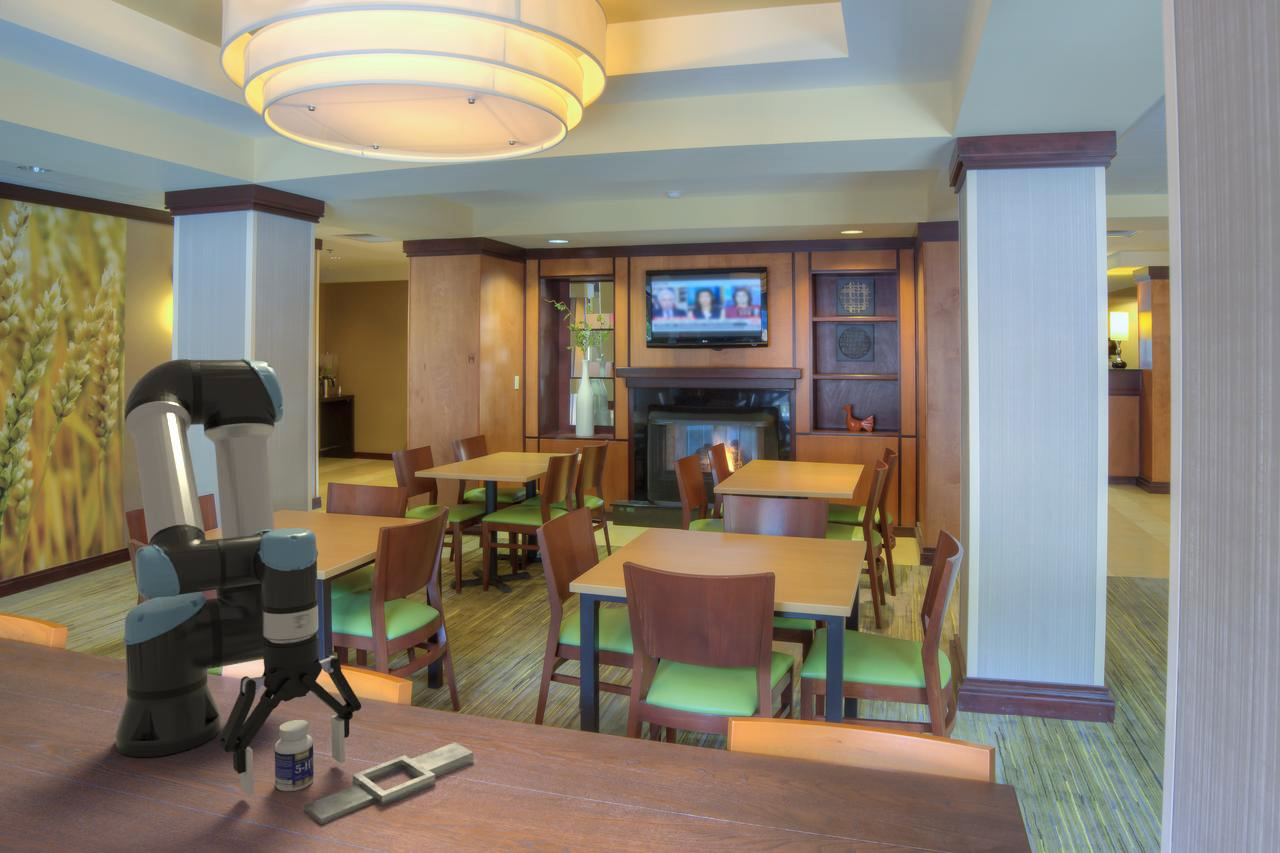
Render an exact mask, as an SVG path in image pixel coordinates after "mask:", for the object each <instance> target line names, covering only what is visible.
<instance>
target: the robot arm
mask: <svg viewBox="0 0 1280 853" xmlns="http://www.w3.org/2000/svg"><path fill="white" fill-rule="evenodd" d="M282 393H283V392H282V388H281V385H280V381H279V377H278V375H277V373H276V371H275V369H274V368H273V366H271V365H270V364H269V363H268V362H266V361H263V360H250V359H249V360H248V359H245V358H241V359H188V358H187V359H185V358H184V359H183V358H179V359H174V360H169V361H166V362H163V363H160V364H159V365H156V366H155V367H153V368H151V369H150V370H149V371H147V372H146V373H145V374H144V375H143V376H142V377H140V379H138V380H137V381H136V384H134V386H133V388H132V389H131V391H130V393H129V395H128V397H127V399H126V403H125V407H124V423H125V428H126V431H127V433H128V434H129V435H130V436H131V437H132V438H133V439H134V445H135V452H136V459H137V460H136V461H137V467H138V474H139V475H138V476H139V482H140V483H139V484H140V490H141V497H142V505H143V515H144V521H145V530H146V536H147V543H148V544H147V546H142V547H139V548H138V549H137V550H136V552H135V556H134V557H135V563H134V564H135V566H134V567H135V578H136V580H135V581H136V588H137V592H138V594H139V595H140V596H141V597H142V598H146V599H147V600H145V601H143V602H141V603H140V604H138V605H136V606H134V607H133V608H131V610H129V612H128V613H127V614H126V616H125V619H124V636H123V638H122V640H123V645H125V675H126V676H125V678H126V701H125V704H124V707H123V709H122V710H123V711H122V714H121V717H120V718H119V722H118V725H117V728H116V732H115V748H116V750H117V752H118V753H120V754H121V755H124V756H126V757H134V758H152V757H162V756H167V755H173V754H176V753H181V752H184V751H187V750H190V749H194V748H197V747H199V746H201V745H202V744H203V745H204V743H206V742H208V741H210V740H211V739H213V738H214V737H216V735H218V733H219V732H221V731H220V730H221V714H220V711H219V709H218V707H217V706H218V705H217V703H216V702H215V700H214V697H213V695H212V692H211V689H210V688H209V684H208V670H211V669H215V668H223V667H227V666H231V665H232V666H233V665H238V664H243V663H249V662H255V661H259V660H263V667H264V671H263V673H262V675H261V676H258V677H249V676H242V678H241V680H240V688H239V694H238V696H237V698H236V701H235V703H234V705H233V707H232V709H231V711H230V714H229V717H228V718H227V721H226V723H225V726H224V728H223V730H222V733H221V735H220V737H219V740H218V741H217V745H218V746H219V747H220V748H221V750H223V751H224V752H226V753H229V752H232V760H233V761H232V762H233V764H232V765H233V766H232V767H233V770H234V771H235V773H237V774H238V775H240V790H241V791H242V792H243V793H244V794H245V795H246V796H248V797H250V796H253V795H255V791H254V788H255V787H254V762H253V761H254V754H253V752H254V751H253V749H252V748H251V747H250V744H251V743H252V741H253V739H254V738H255V737H256V736H257V733H259V731H260V729H261V728H262V726H263V725H264V724H265V722H266V721H267V719H268V717H269V716H270V714H271V713H272V712H273V711H274V710H275V709H276V708H277V707H278V706H279V705H280V703H281V702H282V701H283V702H285V703H286V702H289V701H292V700H293V699H295V698H303V697H306V696H307V694H308V693H309V692H311V693H312V694H313V695H315V696H316V697H317V698H318V699H320V700H321V702H323V703H324V704H326V706H327V707H329V708H330V709H331V710H332V711H334V713H335V715H331V716H330V719H331V722H330V723H331V724H330V725H331V728H330V729H331V758H333V759H334V760H336V762H339V763H340V764H342V763H344V762H346V753H345V752H346V751H345V749H346V748H345V746H346V745H345V744H346V743H345V739H346V738H349V736H350V720H352V719H353V717H354V712H359V711H360V710H361V709H362V704H361V702H360V700H359V699H358V697H357V696H356V694H355V692H354V690H353V688H352V687H351V685H350V683H349V682H348V680H347V678H346V676H345V675H344V673H343V671H342V666H341V660H340V658H338V657H336V656H334V655H333V654H328V655H326V656H325V658H324V659H322V660H320V659H319V656H320V644H319V642H320V638H319V637H320V636H319V634H318V633H317V631H319V604H318V598H319V597H318V556H319V551H318V549H317V541H316V540H317V537H316V534H315V532H313V530H311V529H308V528H302V527H287V528H286V527H285V528H278V529H276V528H275V519H274V506H273V496H272V495H273V494H272V484H271V473H270V461H269V452H268V439H269V437H270V436H271V435H272V434H273V433H274V432H275V430H276V428H275V424H276V423H278V422H281V420H282V419H283V416H284V407H283V403H284V400H283V394H282ZM191 425H193V426H194V425H197V426H199V425H203V434H204V437H206V438H207V439H209V440H210V441H211V442H212V443H213V445H214V450H215V453H214V454H215V466H216V475H217V478H216V479H217V488H218V489H217V490H218V501H219V502H218V504H219V512H220V513H219V514H220V515H219V517H220V528H221V538H216V539H215V538H214V539H206V531H205V527H204V522H203V521H204V520H203V514H202V510H201V505H200V498H199V494H198V489H197V488H198V487H197V483H196V478H195V472H194V471H195V470H194V466H193V461H192V455H191V451H190V444H189V439H188V433H187V432H188V431H189V429H190V428H191ZM215 590H216V597H214V598H207V597H206V596H205V594H204V593H203V592H207V591H215ZM322 671H324V672H325V673H327V674H328V676H329V677H330V679H331V681H332V682H333V685H334V686H335V687H336V689H337V691H338V692H339V694H340V696H341V698H342V699H343V701H344V703H345V704H344V705H343V704H342V703H341V702H340V701H338V700H337V699H336V698H335V697H334V696H333V695H332V694H330V693H329V691H327V690H326V689H325V688H324V687H323V686H322V685H321V684H319V683H318V682H317V679H318V678H319V676H320V674H321V673H322ZM262 686H264V688H266V689H265V690H264V692H263V693H262V694H261V696H260V698H259V702H258V703H257V705H256V706H255V708H254V709H252V712H251V713H250V711H251V708H252V706H253V704H254V701H255V698H256V694H258V693H259V692H260V689H261V687H262ZM249 713H250V715H249ZM248 715H249V716H248Z"/></svg>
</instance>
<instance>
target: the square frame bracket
mask: <svg viewBox="0 0 1280 853" xmlns="http://www.w3.org/2000/svg"><path fill="white" fill-rule="evenodd" d="M472 763H474V752H473V751H471V750H470V749H468V748H466V747H464V746H463V745H461V744H460V743H457V742H455V741H454V742H452V743H449V744H446V745H444V746H441V747H439V748H436V749H434V750H432V751H428V752H425V753H422V754H421V755H417V756H416V757H413V758H410V757H408V756H407V755H405V754H404V755H402V756H399V757H396V758H394V759H391V760H388V761H386V762H383V763H380V764H377V765H375V766H372V767H370V768H367V769H364V770H362V771H359V772H356V773H353V774H352V786H351V787H348V788H346V789H343V790H340V791H338V792H335V793H332V794H330V795H328V796H325V797H322V798H319V799H316V800H315V801H314V800H313V801H312V802H309V803H307V804H305V805H304V811H305V812H306V813H307V814H308V815H310V816H311V817H312V818H313V819H314V820H315V821H316V822H317V823H319V824H320V825H324V824H326V823H329V822H331V821H334V820H335V819H338V818H341V817H343V816H345V815H348V814H350V813H353V812H355V811H358V810H360V809H362V808H365V807H368V806H370V805H372V804H374V803H375V804H378V806H380V807H382V808H383V807H385V806H388V805H391V804H393V803H394V802H398V801H399V800H402V799H404V798H407V797H409V796H411V795H414V794H416V793H419V792H421V791H424V790H425V789H426V790H427V789H428V788H431V787H434V786H435V785H436V778H438V777H441V776H444V775H446V774H448V773H450V772H453V771H455V770H458V769H460V768H462V767H464V766H467V765H470V764H472ZM400 771H404V772H405V773H407V774H409V775H410V776H412V777H413V779H410V780H408V781H406V782H403V783H401V784H398V785H396V786H393V787H391V788H388V789H385V790H384V789H383V788H381V786H379V785H378V784H376V783H375V782H374V781H376V780H379V779H381V778H384V777H386V776H390V775H391V774H392V775H393V774H395V773H397V772H400Z"/></svg>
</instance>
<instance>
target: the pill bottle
mask: <svg viewBox="0 0 1280 853" xmlns="http://www.w3.org/2000/svg"><path fill="white" fill-rule="evenodd" d="M278 735H279V739H278V740H277V741H276V743H275V745H274V781H275V787H276V789H277V790H279V791H281V792H295V791H300V790H303V789H304V788H307V787H308V786H310V785H311V784H312V783H313V781H314V777H315V776H314V774H315V773H314V771H315V770H314V741H313V738H312V737H311V735H309V722H308V721H307V720H303V719H296V720H295V719H294V720H290V721H285V722H284V723H282V724H281V725H280V726H279V730H278Z"/></svg>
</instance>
